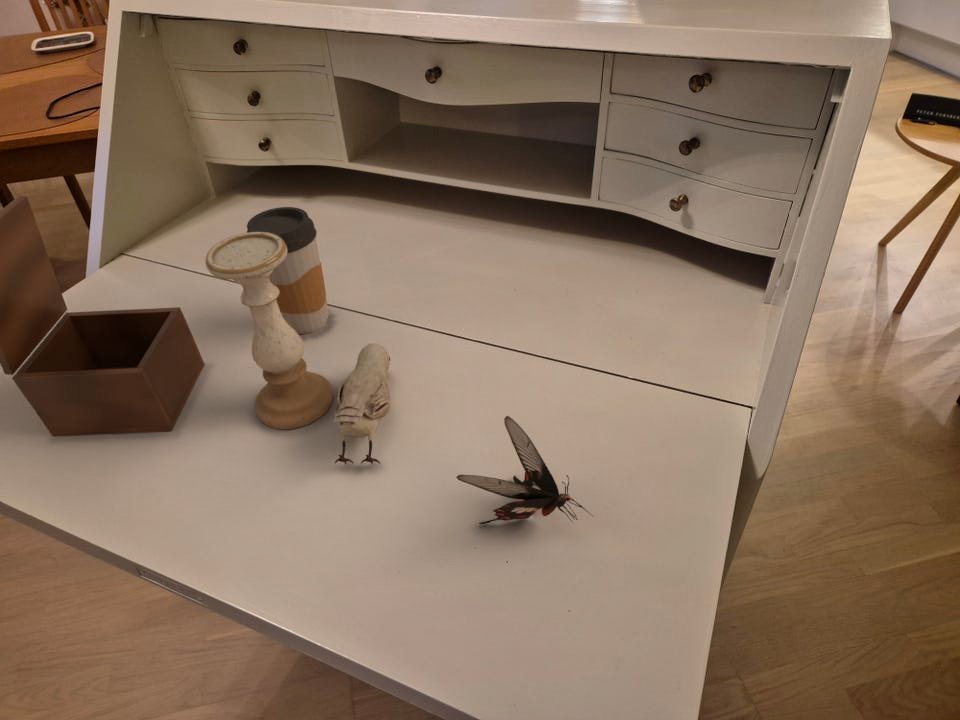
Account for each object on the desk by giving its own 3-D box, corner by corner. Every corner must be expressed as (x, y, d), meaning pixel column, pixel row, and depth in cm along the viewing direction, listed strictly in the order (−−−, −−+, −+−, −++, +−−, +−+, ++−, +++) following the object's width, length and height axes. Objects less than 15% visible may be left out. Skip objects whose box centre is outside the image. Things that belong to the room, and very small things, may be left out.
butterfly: (494, 548, 62) (430, 472, 61) (551, 488, 65) (492, 414, 63) (543, 576, 52) (469, 487, 50) (609, 505, 55) (541, 417, 53)
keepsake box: (204, 364, 80) (180, 307, 74) (171, 431, 71) (140, 372, 65) (98, 368, 80) (65, 312, 75) (52, 436, 71) (11, 378, 66)
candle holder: (320, 432, 70) (272, 276, 57) (244, 428, 71) (180, 274, 58) (342, 378, 76) (304, 227, 63) (273, 376, 78) (221, 227, 64)
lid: (27, 196, 65) (18, 195, 65) (-43, 254, 56) (-53, 253, 56) (67, 309, 74) (60, 308, 74) (13, 375, 66) (4, 374, 65)
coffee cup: (304, 297, 90) (277, 199, 81) (349, 313, 87) (327, 213, 77) (261, 329, 85) (227, 228, 75) (307, 347, 82) (277, 244, 72)
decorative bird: (403, 370, 77) (395, 321, 72) (383, 474, 65) (371, 423, 60) (360, 371, 77) (349, 321, 73) (331, 474, 65) (315, 423, 60)
